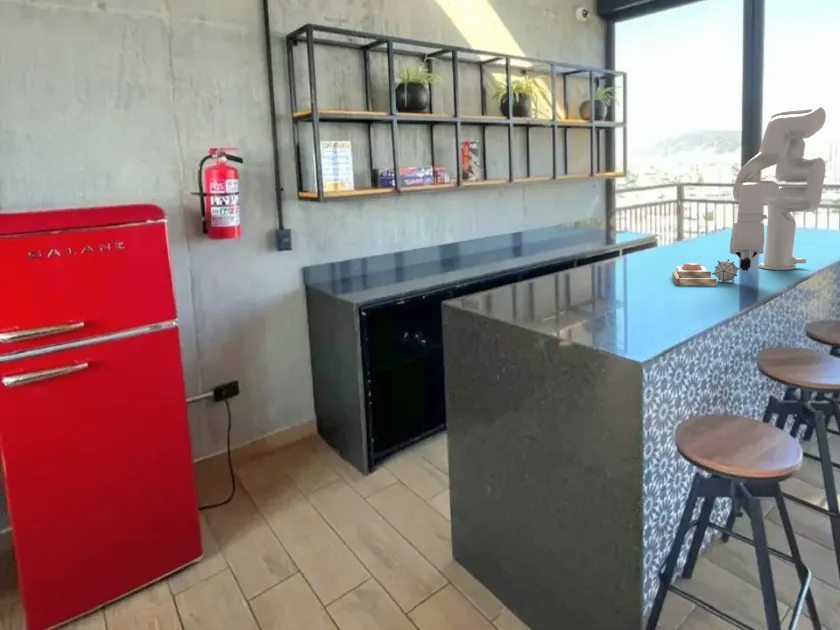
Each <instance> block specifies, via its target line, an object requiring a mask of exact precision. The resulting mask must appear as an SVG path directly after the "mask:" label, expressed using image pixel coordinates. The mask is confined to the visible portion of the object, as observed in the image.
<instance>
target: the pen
mask: <svg viewBox="0 0 840 630" xmlns="http://www.w3.org/2000/svg"><path fill="white" fill-rule="evenodd" d="M711 276H712V271H711V270H707V271H676V270H672V274H671V277H672V280H673V282H674V285H675V284H676V285H675V286H687V285H702V287H717V281H718V278H717V277H716V278H711ZM679 277H684V278H679ZM685 277H686V278H685ZM703 285H704V286H703ZM705 285H706V286H705ZM711 285H712V286H711Z"/></svg>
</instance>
